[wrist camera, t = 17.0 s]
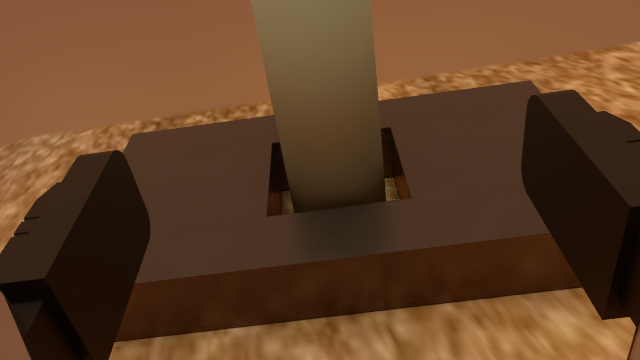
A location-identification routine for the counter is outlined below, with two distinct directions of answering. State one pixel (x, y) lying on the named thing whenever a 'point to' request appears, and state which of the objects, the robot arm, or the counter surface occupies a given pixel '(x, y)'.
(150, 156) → the brown block with hole
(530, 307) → the counter surface
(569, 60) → the counter surface
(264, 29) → the peg
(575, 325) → the counter surface
